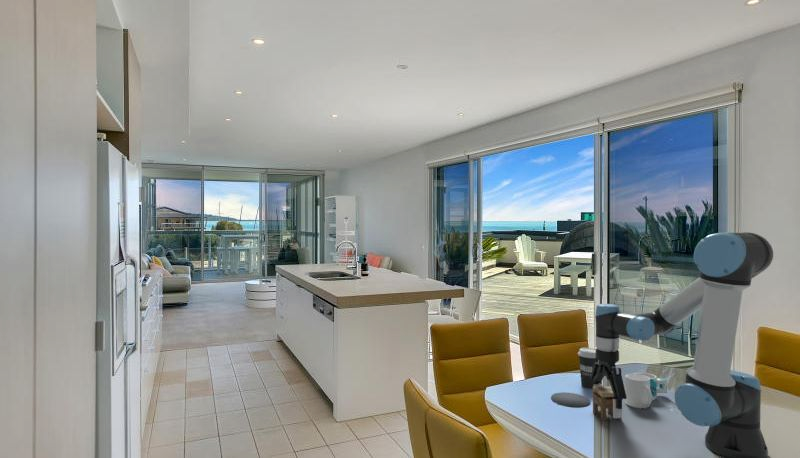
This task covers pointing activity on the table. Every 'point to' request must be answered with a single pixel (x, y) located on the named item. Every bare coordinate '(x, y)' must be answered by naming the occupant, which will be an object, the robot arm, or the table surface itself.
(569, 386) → the table surface
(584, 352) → the coffee cup
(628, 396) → the mug
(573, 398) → the mat
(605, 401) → the stool
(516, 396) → the table surface
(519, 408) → the table surface
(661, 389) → the mug
